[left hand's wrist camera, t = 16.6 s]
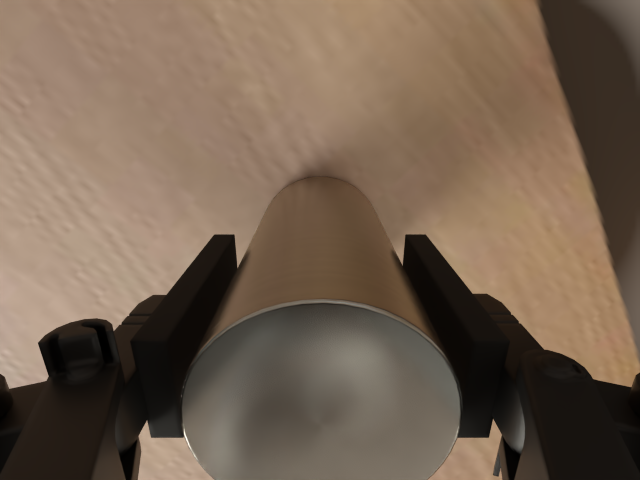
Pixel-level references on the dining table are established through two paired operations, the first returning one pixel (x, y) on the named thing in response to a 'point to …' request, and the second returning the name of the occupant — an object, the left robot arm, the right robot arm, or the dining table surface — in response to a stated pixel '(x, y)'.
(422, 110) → the dining table surface
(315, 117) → the dining table surface
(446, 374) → the tin
